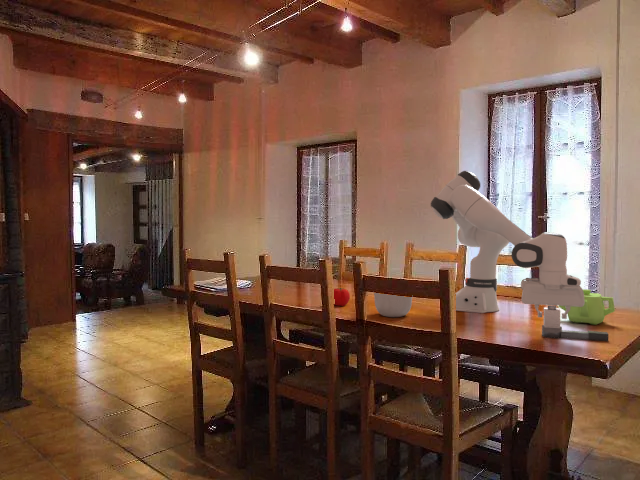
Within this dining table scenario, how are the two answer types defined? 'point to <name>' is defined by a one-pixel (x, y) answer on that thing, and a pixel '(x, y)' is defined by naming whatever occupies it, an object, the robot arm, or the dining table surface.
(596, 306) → the teapot
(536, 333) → the dining table surface
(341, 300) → the tomato
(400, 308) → the white rounded bowl
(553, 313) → the cube with grey knob
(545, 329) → the ratchet
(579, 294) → the robot arm
